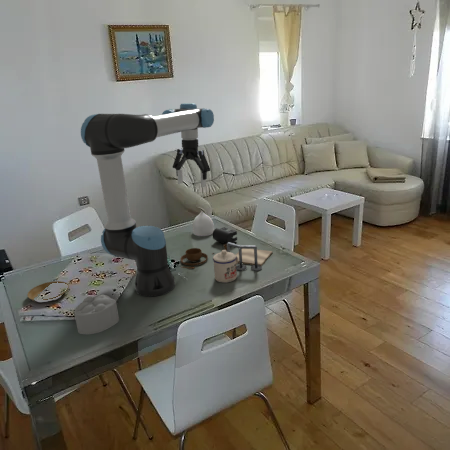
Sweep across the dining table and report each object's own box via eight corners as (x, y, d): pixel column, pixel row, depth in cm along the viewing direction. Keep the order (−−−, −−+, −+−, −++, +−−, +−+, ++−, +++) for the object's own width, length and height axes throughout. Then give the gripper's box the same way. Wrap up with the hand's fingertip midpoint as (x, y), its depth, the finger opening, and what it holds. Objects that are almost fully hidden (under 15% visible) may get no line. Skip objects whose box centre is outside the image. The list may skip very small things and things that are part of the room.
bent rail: (257, 273, 165) (257, 250, 162) (220, 267, 172) (219, 245, 169) (263, 267, 170) (262, 244, 167) (227, 261, 177) (225, 240, 174)
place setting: (191, 251, 191) (189, 240, 189) (231, 256, 184) (231, 243, 182) (173, 268, 176) (171, 255, 174) (216, 273, 169) (215, 260, 167)
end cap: (212, 243, 198) (211, 229, 196) (223, 238, 203) (222, 225, 201) (227, 248, 192) (226, 234, 189) (238, 243, 196) (237, 229, 194)
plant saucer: (51, 284, 169) (50, 278, 168) (78, 290, 162) (77, 284, 161) (20, 301, 156) (18, 295, 156) (47, 309, 150) (45, 303, 149)
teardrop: (208, 226, 220) (206, 205, 216) (218, 232, 211) (216, 210, 207) (189, 231, 215) (187, 209, 211) (199, 237, 206) (196, 215, 202)
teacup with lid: (227, 285, 157) (225, 257, 153) (209, 279, 163) (207, 252, 159) (246, 273, 166) (245, 246, 162) (229, 268, 171) (227, 241, 168)
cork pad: (261, 266, 171) (260, 264, 171) (230, 261, 177) (230, 260, 177) (272, 252, 183) (272, 251, 183) (243, 249, 189) (242, 247, 188)
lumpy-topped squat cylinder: (122, 320, 139) (118, 297, 136) (87, 339, 130) (82, 315, 127) (106, 310, 146) (102, 288, 143) (71, 327, 137) (66, 304, 134)
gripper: (217, 139, 185) (218, 186, 191) (174, 136, 198) (176, 180, 204) (207, 141, 179) (208, 189, 185) (163, 138, 192) (166, 183, 199)
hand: (191, 185), depth 195 cm, fingers open, 13 cm apart
